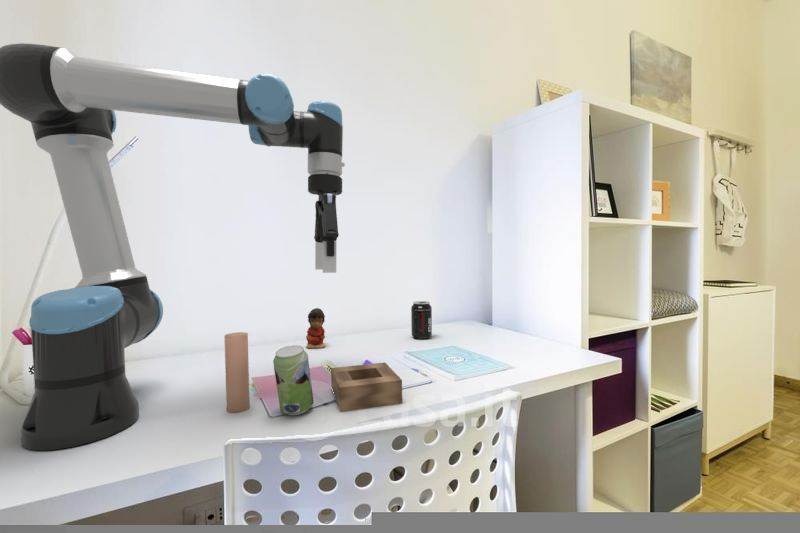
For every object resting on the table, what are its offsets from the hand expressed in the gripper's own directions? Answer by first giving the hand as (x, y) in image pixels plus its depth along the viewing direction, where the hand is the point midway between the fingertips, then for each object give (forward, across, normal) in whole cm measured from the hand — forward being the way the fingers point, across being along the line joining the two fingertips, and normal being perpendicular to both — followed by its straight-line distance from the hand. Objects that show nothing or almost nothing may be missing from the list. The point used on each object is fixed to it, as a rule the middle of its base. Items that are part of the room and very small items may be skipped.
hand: (325, 271), depth 85 cm
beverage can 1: (+25, -15, +8) cm, 30 cm away
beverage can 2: (+24, +30, -36) cm, 53 cm away
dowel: (+25, -10, +18) cm, 32 cm away
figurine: (+25, +31, -1) cm, 40 cm away
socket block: (+25, -12, -6) cm, 28 cm away
